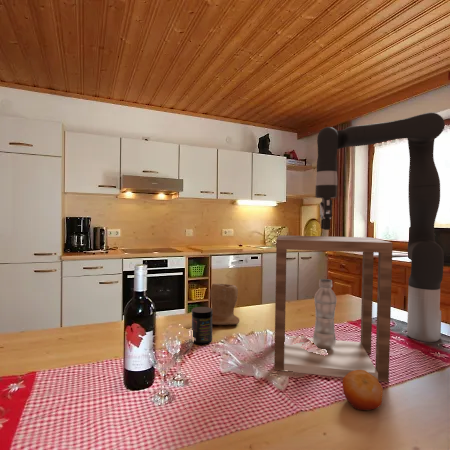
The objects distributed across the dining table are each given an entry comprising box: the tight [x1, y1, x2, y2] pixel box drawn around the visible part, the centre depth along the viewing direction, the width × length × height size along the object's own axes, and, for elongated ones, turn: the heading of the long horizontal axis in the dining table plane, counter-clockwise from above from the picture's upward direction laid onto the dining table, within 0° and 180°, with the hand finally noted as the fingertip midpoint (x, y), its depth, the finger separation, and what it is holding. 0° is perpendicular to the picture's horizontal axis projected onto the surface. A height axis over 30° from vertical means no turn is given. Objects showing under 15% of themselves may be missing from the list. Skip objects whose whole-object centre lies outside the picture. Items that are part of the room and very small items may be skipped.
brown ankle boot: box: [209, 283, 240, 326], centre depth 122 cm, size 15×12×15 cm
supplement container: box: [191, 306, 213, 346], centre depth 103 cm, size 7×7×10 cm
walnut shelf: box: [273, 234, 393, 383], centre depth 92 cm, size 20×28×34 cm
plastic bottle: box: [312, 278, 338, 349], centre depth 95 cm, size 6×7×20 cm
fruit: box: [342, 370, 384, 411], centre depth 70 cm, size 8×8×8 cm
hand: (325, 229), depth 117 cm, fingers open, 8 cm apart
